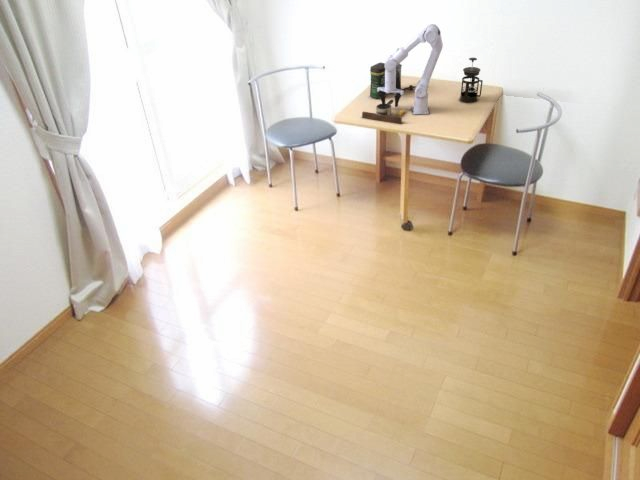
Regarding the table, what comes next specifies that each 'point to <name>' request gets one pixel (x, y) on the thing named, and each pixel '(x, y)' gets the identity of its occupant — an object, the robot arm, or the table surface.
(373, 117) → the walnut rail
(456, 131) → the table surface
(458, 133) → the table surface
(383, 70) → the coffee jar
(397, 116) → the knife
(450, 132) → the table surface
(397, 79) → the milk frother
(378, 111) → the steel pot
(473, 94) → the french press
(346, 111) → the table surface
